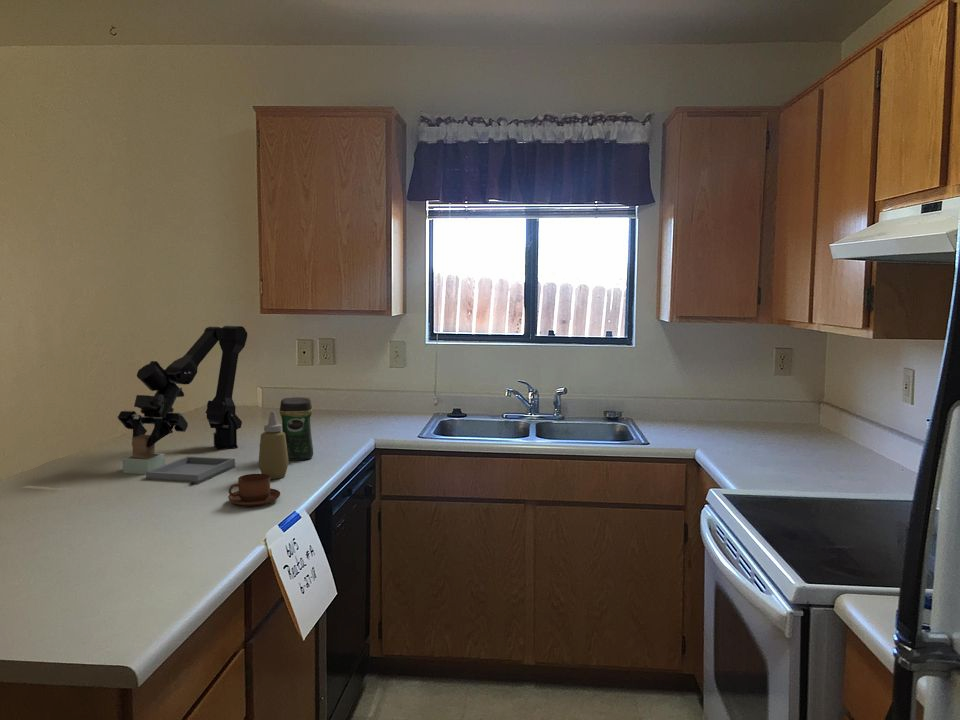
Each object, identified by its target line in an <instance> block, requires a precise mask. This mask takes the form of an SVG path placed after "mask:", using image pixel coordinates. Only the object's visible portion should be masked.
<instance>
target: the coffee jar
mask: <svg viewBox="0 0 960 720" xmlns="http://www.w3.org/2000/svg"><path fill="white" fill-rule="evenodd" d="M312 414H313V407H312V401H311V398H310V397H304V396H301V397H300V396H298V397H297V396H294V397H285V398H282V399H281V400H280V405H279V415H280V418H281V425H282V432H284V433H285V436H286V444H287V452H288V461H301V460H303V461H304V460H308V459H312V458H313V456H314V445H313V440H312V429H311V416H312Z"/></svg>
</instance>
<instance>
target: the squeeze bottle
mask: <svg viewBox="0 0 960 720" xmlns="http://www.w3.org/2000/svg"><path fill="white" fill-rule="evenodd" d="M259 442H260V443H259V451H258V452H259V453H258V454H259V455H258V464H257V465H258V466H257V467H259V471H260V474H267V475H269V476H270V480H276V479H281V478H283V477H284V478H285V476H286V473H287V471H288V467H289V464H290V463H289V461H290V460H288V452H287V444H286V436H285V433H284V432H282V423H278V419H277V415H276V411H273V410H271V411H270V413H269V417H268V423H265V424H264V425H263V432H262V433H261V434H260V441H259Z"/></svg>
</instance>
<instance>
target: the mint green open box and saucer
mask: <svg viewBox="0 0 960 720" xmlns="http://www.w3.org/2000/svg"><path fill="white" fill-rule="evenodd" d="M234 487H235V488H236V487H238V488H237V489H238V490H236V491H234V492H233V491H232V490H233V488H234ZM227 491H228V497H227V499H228V500H229V502H231V503H232V504H234V505H237V506H242V507H243V506H244V507H245V506H246V507H255V506H262V505H267V504H271V503H273V502H275V501H277V499H279V498H280V496H281V492H280V490H279V489H275V488H271V479H270V476H269V475H267V474H261V473H251V474H250V473H247V474H244V475H241V476H239V477H238V478H237V483H233V484H231V485H230V486H229V488H228V490H227Z"/></svg>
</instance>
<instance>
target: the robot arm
mask: <svg viewBox="0 0 960 720" xmlns="http://www.w3.org/2000/svg"><path fill="white" fill-rule="evenodd" d="M247 338H248V332H247V329H246V328H245V327H244V326H242V325H224V326H223V327H220V326H208V327H206V328H205V329H204V331H203V333H202V334H201V335H200V337H199V338H198V339H197V340H196V341H195V342H194V344H193V345H192V346H191V347H190V348H189V349H188V351H187V352H186V353H185V354H184V355H183V356H181V357H180V358H178V359H175V360H173V361H172V362H171V363H170V364H169V365H168V366H167V367H166V368H165V369H164V368H163V367H162V366H161V365H160V363H159V362H158V361H154V360H151V361H150V362H149V363H147V364H146V365H144V366H142V367H141V368H140V369H138V371H137V374H136V377H137V379H139V381H140V382H142V384H143V385H144V386H145V387H147V389H149V390H150V391H151V392H154V395H149V394H147V395H146V394H145V395H143V394H137V395H136V396H135V399H134V400H135V401H134V405H133V407H135V408H139V409H140V413H141V414H143V415H141V414H137V412H136V411H135V410H121V411H120V412H119V414H118V416H117V418H116V419H118V421H119V422H120V423H121V424H122V425H123V426H124V427H125V429H128V430H132V437H135V436H138V435H146V433H147V432H148V431H147V430H148V429H146V428H145V425H153V426H154V428H153V430H152V431H151V434H149V435H150V437H149V439H148V442H147V445H146V446H147V447H151V446H152V445H153V444H155V445H156V443H157V442H158V441H161V440H162V439H163V438H164V437H167V436H168V435H170V434H173V432H174V431H173V429H174V430H175V431H176V432H179V433H180V432H182V433H183V432H184V433H185V432H186V431H187V429H188V427H189V426H188V424H189V423H188V421H187V420H186V418H185V417H184V415H182V413H181V412H174V410H175V409H174V408H173V406H174V404H175V402H176V400H177V398H182V397H183V398H184V397H185V393H184V390H183V387H179V386H178V385H190V384H191V383H193V381H194V379H195V377H196V375H197V374H198V369H199V365H200V364H201V363H202V362H203V360H204V359H205V358H206V356H207V355H208V354H209V353H210V352H211V350H212V349H213V348H214V347H215V346H216V345H217V343H218V344H219V346H220V349H221V352H222V354H221V359H220V366H219V374H218V379H217V385H216V392H215V396H214V397H213V399H212V400H208V401H207V404H206V411H205V414H206V420H207V421H208V423H209V427H210V428H211V429H214V430H215V432H213V434H212V435H213V437H212V438H213V447H214V448H215V449H216V450H223V449H224V450H225V449H237V448H238V447H239V446H238V442H237V441H238V440H237V439H238V438H237V437H238V436H237V435H238V434H237V433H238V432H237V431H238V429H241V428H242V424H243V421H242V420H241V419H240V418H239V416H238V415H237V414H236V405H235V402H234V400H233V395H234V394H233V392H234V387H235V380H236V374H237V367H238V361H239V354H240V353H241V352H242V350H243V349H244V348H245V346H246V342H247ZM177 384H178V385H177Z"/></svg>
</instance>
